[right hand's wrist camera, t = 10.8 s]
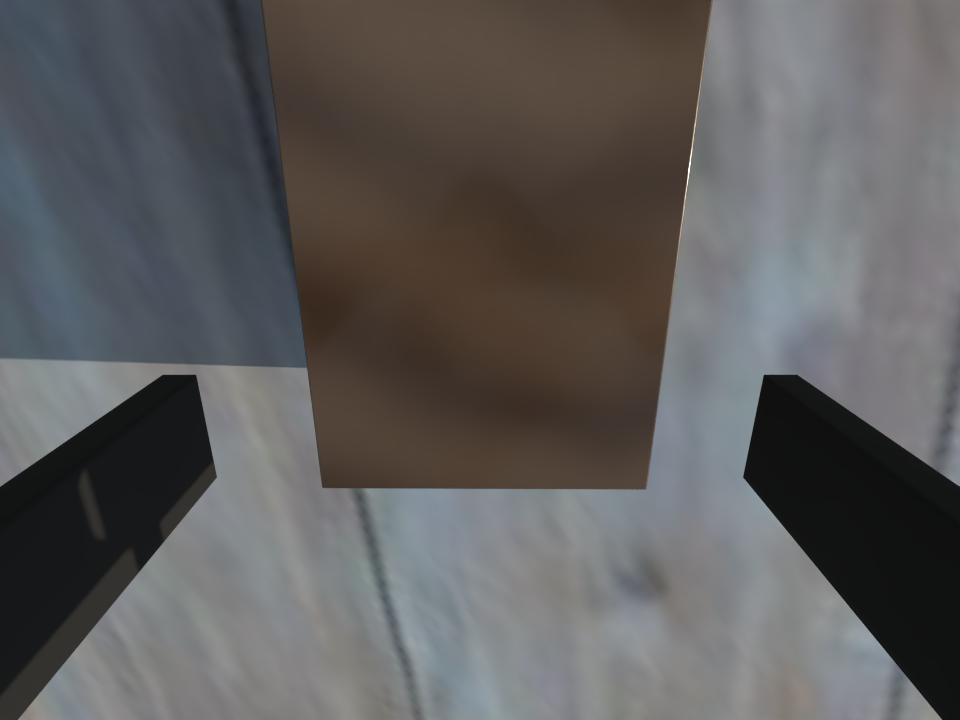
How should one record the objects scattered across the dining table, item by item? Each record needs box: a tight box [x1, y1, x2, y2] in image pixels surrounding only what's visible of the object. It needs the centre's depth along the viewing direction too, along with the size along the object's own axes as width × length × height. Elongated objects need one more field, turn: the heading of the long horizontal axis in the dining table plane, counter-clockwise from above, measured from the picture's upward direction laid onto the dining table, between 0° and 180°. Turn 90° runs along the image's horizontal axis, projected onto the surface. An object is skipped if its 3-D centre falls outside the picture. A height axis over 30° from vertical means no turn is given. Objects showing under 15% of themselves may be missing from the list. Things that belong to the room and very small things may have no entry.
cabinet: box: [261, 0, 713, 489], centre depth 19 cm, size 22×11×10 cm, turn 0°
